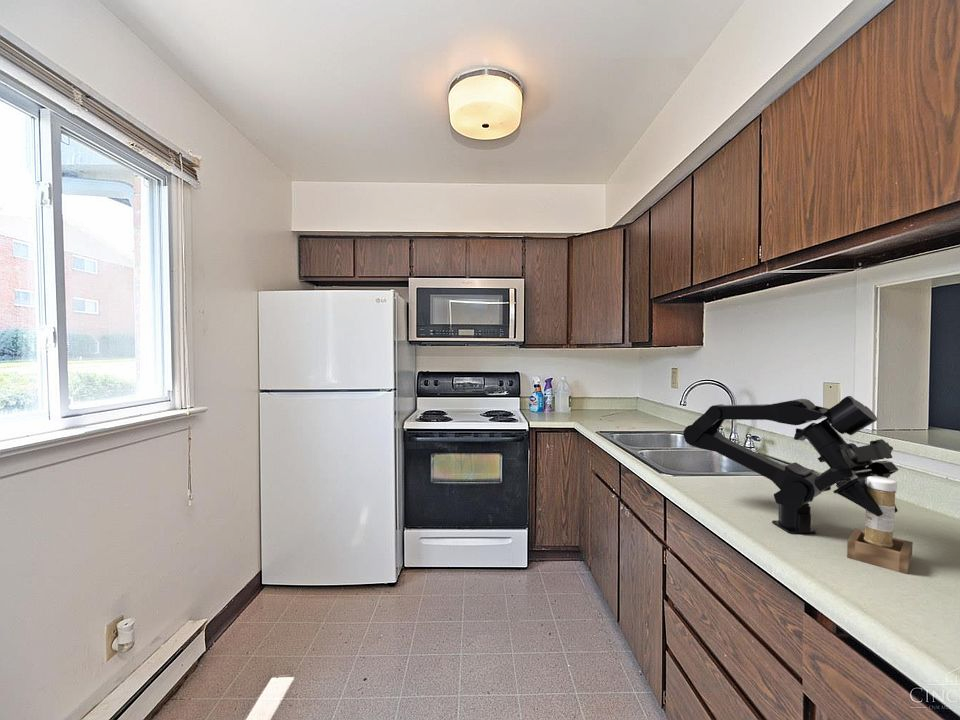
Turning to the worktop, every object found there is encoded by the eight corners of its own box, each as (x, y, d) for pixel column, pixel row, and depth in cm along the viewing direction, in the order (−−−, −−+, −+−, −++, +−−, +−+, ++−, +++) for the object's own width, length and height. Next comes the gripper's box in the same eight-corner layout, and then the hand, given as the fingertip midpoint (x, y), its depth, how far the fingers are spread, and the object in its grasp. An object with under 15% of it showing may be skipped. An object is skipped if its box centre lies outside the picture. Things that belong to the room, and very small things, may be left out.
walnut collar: (847, 557, 92) (847, 540, 92) (855, 544, 98) (855, 528, 98) (907, 574, 85) (908, 555, 85) (912, 559, 91) (912, 542, 91)
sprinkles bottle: (860, 537, 95) (863, 474, 94) (887, 541, 93) (891, 476, 92) (868, 546, 90) (872, 480, 90) (898, 550, 89) (901, 483, 88)
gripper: (832, 429, 91) (895, 501, 81) (889, 423, 98) (954, 490, 88) (791, 457, 99) (845, 526, 89) (847, 451, 105) (902, 514, 95)
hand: (888, 513), depth 90 cm, fingers closed on sprinkles bottle, 4 cm apart
